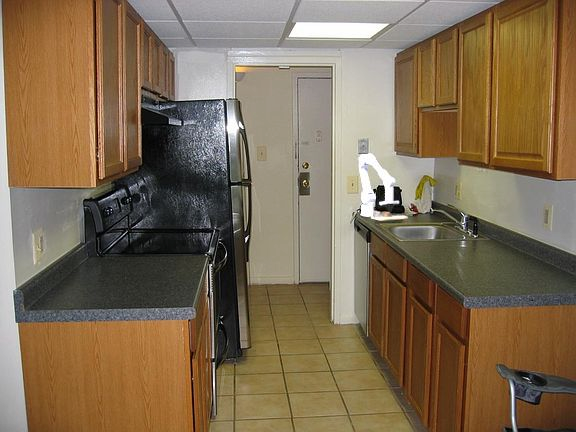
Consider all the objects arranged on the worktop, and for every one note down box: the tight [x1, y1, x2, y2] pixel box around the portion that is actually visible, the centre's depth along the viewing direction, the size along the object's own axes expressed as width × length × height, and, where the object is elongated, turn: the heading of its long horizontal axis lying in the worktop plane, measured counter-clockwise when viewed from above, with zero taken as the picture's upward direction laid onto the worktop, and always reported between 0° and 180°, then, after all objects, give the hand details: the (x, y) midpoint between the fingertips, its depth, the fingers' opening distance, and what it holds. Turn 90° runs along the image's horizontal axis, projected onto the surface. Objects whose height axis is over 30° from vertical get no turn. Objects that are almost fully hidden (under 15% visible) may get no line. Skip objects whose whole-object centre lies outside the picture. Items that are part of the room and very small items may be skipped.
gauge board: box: [370, 210, 409, 222], centre depth 437 cm, size 13×22×5 cm, turn 113°
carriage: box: [381, 211, 393, 216], centre depth 436 cm, size 10×3×3 cm, turn 23°
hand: (389, 214), depth 440 cm, fingers closed
